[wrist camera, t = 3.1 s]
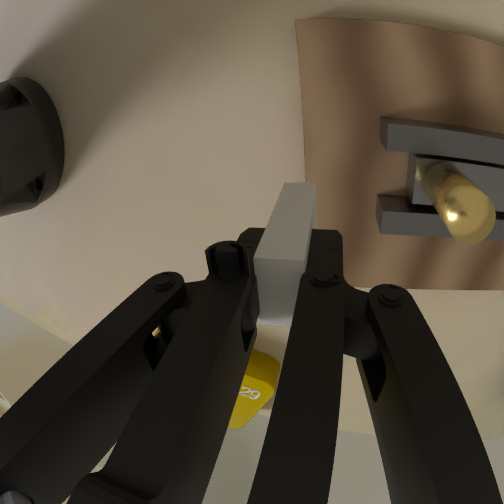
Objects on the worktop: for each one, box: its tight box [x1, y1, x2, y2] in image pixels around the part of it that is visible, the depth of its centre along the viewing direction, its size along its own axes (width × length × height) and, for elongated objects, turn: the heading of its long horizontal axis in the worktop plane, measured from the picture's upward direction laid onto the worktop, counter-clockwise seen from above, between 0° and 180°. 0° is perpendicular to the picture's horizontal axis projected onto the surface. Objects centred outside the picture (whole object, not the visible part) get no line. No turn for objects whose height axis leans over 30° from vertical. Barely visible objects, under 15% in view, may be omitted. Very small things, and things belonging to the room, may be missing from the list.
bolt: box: [406, 153, 504, 245], centre depth 15 cm, size 10×3×7 cm, turn 96°
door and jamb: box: [295, 18, 504, 290], centre depth 18 cm, size 28×20×2 cm
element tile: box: [154, 329, 280, 429], centre depth 37 cm, size 15×15×5 cm
